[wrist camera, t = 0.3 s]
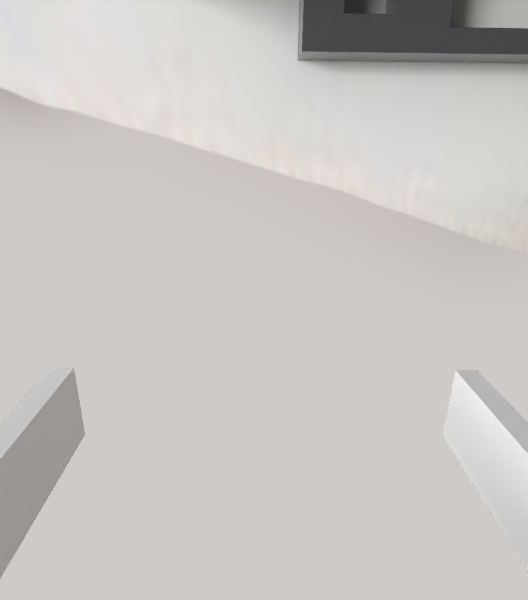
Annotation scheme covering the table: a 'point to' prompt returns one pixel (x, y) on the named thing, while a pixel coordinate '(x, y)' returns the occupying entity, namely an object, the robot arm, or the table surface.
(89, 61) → the table surface
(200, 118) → the table surface
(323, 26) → the grey slotted block
